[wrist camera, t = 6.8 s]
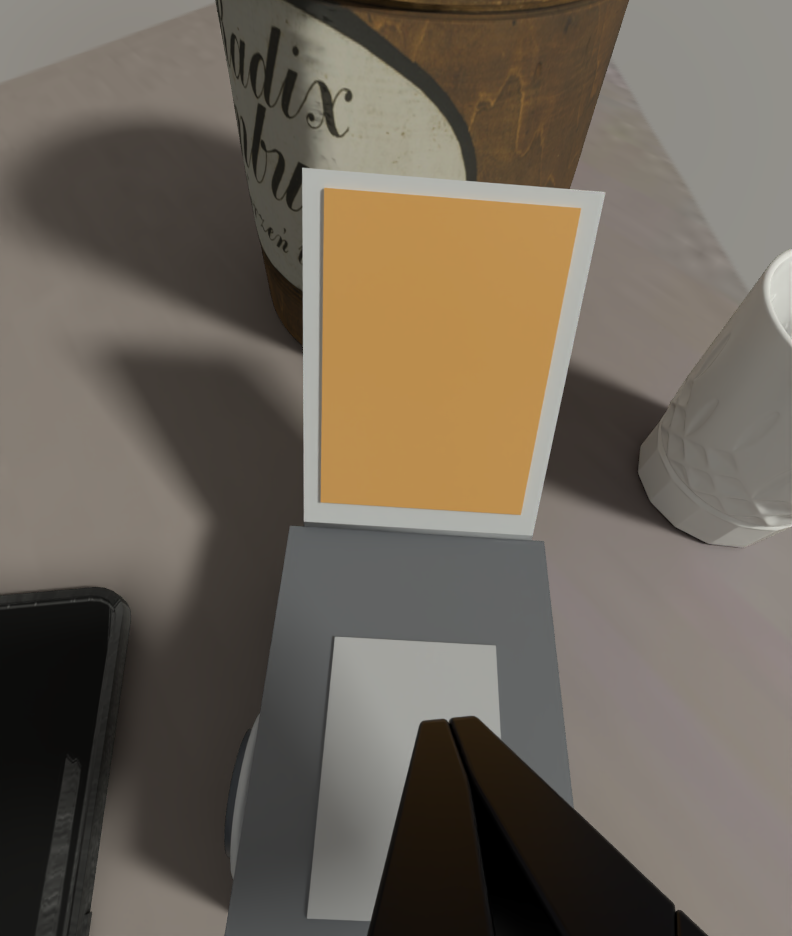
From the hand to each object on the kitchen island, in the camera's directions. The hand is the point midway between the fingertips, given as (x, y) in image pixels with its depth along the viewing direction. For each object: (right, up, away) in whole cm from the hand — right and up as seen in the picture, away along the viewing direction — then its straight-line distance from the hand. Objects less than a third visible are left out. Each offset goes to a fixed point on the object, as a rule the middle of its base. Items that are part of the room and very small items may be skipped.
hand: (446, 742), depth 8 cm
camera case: (0, -5, +11) cm, 12 cm away
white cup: (+14, +3, +17) cm, 22 cm away
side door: (0, +6, +7) cm, 10 cm away
